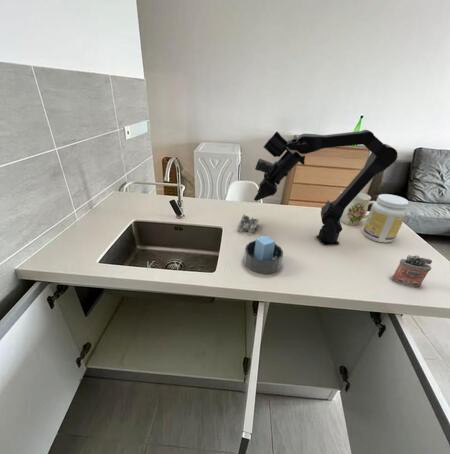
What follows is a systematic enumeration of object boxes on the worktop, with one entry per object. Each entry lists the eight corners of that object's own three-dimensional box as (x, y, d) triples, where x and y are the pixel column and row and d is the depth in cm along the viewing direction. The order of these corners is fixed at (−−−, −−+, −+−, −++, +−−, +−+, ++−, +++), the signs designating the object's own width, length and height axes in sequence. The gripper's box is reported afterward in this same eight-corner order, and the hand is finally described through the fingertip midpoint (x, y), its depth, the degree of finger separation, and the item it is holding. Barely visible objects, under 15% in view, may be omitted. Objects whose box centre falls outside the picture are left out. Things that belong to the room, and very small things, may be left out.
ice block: (263, 257, 85) (266, 235, 80) (271, 264, 81) (275, 241, 77) (253, 260, 82) (256, 238, 78) (261, 268, 79) (264, 245, 75)
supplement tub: (389, 231, 107) (405, 195, 98) (398, 246, 97) (417, 207, 88) (359, 227, 109) (372, 191, 101) (365, 240, 99) (380, 202, 90)
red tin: (392, 282, 78) (405, 257, 72) (390, 275, 80) (402, 251, 75) (421, 289, 75) (437, 263, 70) (418, 282, 78) (433, 257, 73)
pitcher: (375, 229, 108) (388, 200, 101) (334, 225, 110) (343, 196, 102) (366, 218, 117) (377, 191, 110) (328, 214, 119) (336, 188, 112)
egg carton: (243, 221, 109) (243, 213, 107) (259, 224, 107) (260, 216, 105) (236, 232, 100) (236, 223, 98) (253, 236, 98) (254, 227, 96)
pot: (273, 253, 88) (276, 239, 85) (285, 275, 78) (288, 260, 75) (240, 255, 87) (242, 241, 84) (248, 277, 76) (250, 262, 73)
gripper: (270, 146, 95) (245, 176, 103) (264, 156, 79) (235, 190, 88) (291, 164, 96) (265, 192, 104) (289, 178, 80) (259, 210, 89)
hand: (256, 195), depth 96 cm, fingers open, 9 cm apart
